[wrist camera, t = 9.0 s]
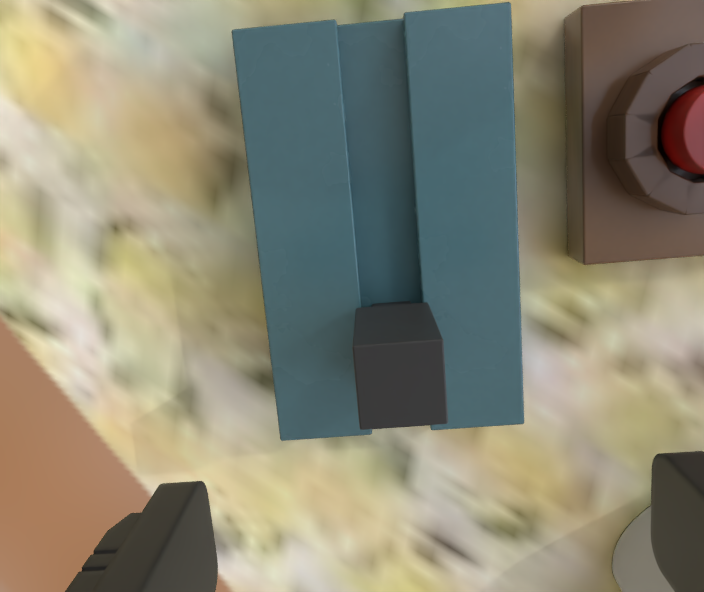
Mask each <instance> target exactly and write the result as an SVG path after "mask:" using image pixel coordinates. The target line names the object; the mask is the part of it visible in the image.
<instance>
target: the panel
mask: <svg viewBox="0 0 704 592" xmlns="http://www.w3.org/2000/svg"><path fill="white" fill-rule="evenodd" d="M564 33H565V100H566V166H567V233H568V257H570V258H572V259H574V260H576V261H578V262H580V263H582V264H584V265H591V264H604V263H616V262H629V261H641V260H653V259H666V258H678V257H691V256H703V255H704V174H693V173H689V172H686V171H684V170H682V169H680V168H678V167H677V166H676V165H674V164H673V163H672V162H671V161H670V159H669V158H668V157H667V155H666V153H665V151H664V148H663V145H662V140H661V130H662V124H663V120H664V117H665V115H666V113H667V111H668V109H669V108H670V106H671V105H672V104H673V102H674V101H675V100H676V99H677V98H678V97H679V96H681V95H682V94H683V93H685V92H686V91H688V90H690V89H692V88H694V87H697V86H701V85H704V0H632V1H622V2H612V3H601V4H591V5H583V6H581V7H579V8H578V9H577V10H575V11H574V12H572V13H571V14H570V15H568V16H567V17H565V19H564Z"/></svg>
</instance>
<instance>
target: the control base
mask: <svg viewBox="0 0 704 592" xmlns="http://www.w3.org/2000/svg"><path fill="white" fill-rule="evenodd" d="M232 39H233V47H234V56H235V64H236V72H237V81H238V89H239V97H240V106H241V114H242V122H243V131H244V139H245V147H246V156H247V164H248V173H249V181H250V189H251V198H252V206H253V214H254V223H255V231H256V239H257V248H258V256H259V264H260V273H261V281H262V289H263V298H264V306H265V314H266V323H267V331H268V339H269V348H270V356H271V365H272V373H273V381H274V390H275V398H276V406H277V415H278V423H279V431H280V439H281V440H282V441H285V440H299V439H314V438H328V437H342V436H357V435H370V434H372V429H366V430H361V429H360V427H359V416H358V405H357V394H356V383H355V372H354V361H353V350H352V345H353V334H354V323H355V313H356V308H361V307H372V304H376V303H389V302H401V301H411V304H412V303H425V302H427V303H428V304H429V306H430V309H431V311H432V314H433V316H434V318H435V321H436V323H437V326H438V328H439V331H440V333H441V336H442V338H443V341H444V358H445V375H446V392H447V409H448V423H447V424H438V425H430V428H431V430H443V429H457V428H471V427H486V426H500V425H515V424H524V399H523V367H522V336H521V304H520V272H519V241H518V209H517V178H516V146H515V114H514V83H513V51H512V19H511V3H509V2H505V3H495V4H485V5H475V6H465V7H455V8H445V9H435V10H425V11H415V12H406V13H404V16H403V19H395V20H385V21H375V22H365V23H355V24H345V25H337V22H336V20H324V21H314V22H304V23H294V24H284V25H274V26H264V27H254V28H244V29H234V30H232Z"/></svg>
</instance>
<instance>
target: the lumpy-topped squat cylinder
mask: <svg viewBox="0 0 704 592" xmlns="http://www.w3.org/2000/svg"><path fill="white" fill-rule="evenodd" d="M612 570H613V575H614V578H615V580H616V582H617V584H618V585H619V587H620V589H621V590H622V592H675V591H674V590H673V589H672V587H671V586H670V584H669V583H668V581H667V580H666V578H665V577H664V576H663V574H662V573H661V571H660V569H659V567H658V565H657V562H656V560H655V557H654V553H653V549H652V544H651V506H650V507H648V508H647V509H646V510H645V511H643V512H642V513H641V514H640V515H639V516H638V517H636V518H635V519H634V520H633V521H632V522H631V524H630V525H629V526H628V527H627V528H626V529H625V531H624V532H623V534H622V535H621V537H620V539H619V541H618V543H617V545H616V548H615V551H614V555H613V560H612Z"/></svg>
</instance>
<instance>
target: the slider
mask: <svg viewBox="0 0 704 592" xmlns="http://www.w3.org/2000/svg"><path fill="white" fill-rule="evenodd" d="M352 350H353V361H354V372H355V383H356V394H357V405H358V416H359V427H360V429H361V430H366V429H381V428H395V427H409V426H424V425H438V424H447V423H448V409H447V392H446V375H445V358H444V341H443V338H442V336H441V333H440V331H439V328H438V326H437V323H436V321H435V318H434V316H433V314H432V311H431V309H430V306H429V304H428V303H427V302H425V303H412V304H411V301H401V302H389V303H376V304H372V307H361V308H356V313H355V323H354V334H353V345H352Z"/></svg>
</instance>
